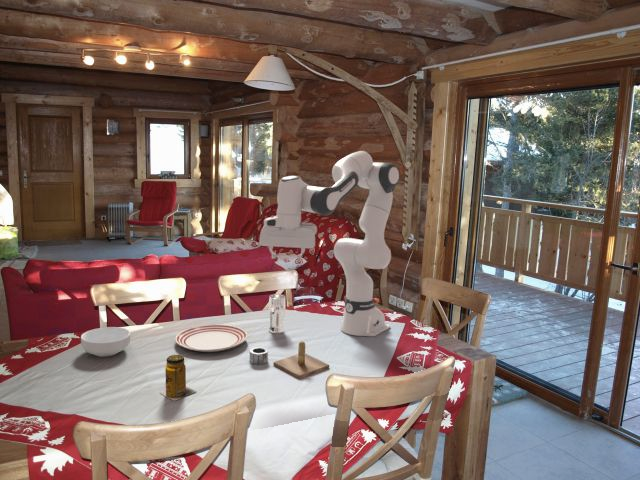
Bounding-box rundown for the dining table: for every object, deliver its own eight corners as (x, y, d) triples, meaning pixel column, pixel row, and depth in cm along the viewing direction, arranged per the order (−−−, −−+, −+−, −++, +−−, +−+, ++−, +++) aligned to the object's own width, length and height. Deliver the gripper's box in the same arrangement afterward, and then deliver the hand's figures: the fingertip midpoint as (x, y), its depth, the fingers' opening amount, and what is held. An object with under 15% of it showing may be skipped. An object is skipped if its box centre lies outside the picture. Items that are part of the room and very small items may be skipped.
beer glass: (282, 334, 221) (283, 299, 218) (265, 332, 222) (266, 297, 219) (286, 329, 228) (287, 294, 225) (270, 327, 229) (271, 293, 226)
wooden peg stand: (303, 355, 201) (303, 331, 199) (329, 368, 191) (330, 343, 189) (273, 365, 192) (274, 340, 190) (299, 378, 182) (300, 352, 180)
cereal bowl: (139, 353, 197) (138, 335, 196) (94, 366, 185) (93, 346, 184) (117, 340, 208) (116, 323, 207) (73, 351, 196) (72, 333, 195)
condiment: (160, 393, 168) (159, 357, 166) (182, 384, 174) (182, 349, 172) (173, 401, 163) (173, 364, 161) (196, 392, 170) (196, 356, 167)
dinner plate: (160, 349, 202) (160, 340, 202) (202, 326, 227) (202, 319, 227) (223, 363, 192) (223, 354, 192) (259, 338, 217) (260, 330, 217)
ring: (260, 356, 199) (260, 345, 198) (271, 361, 194) (271, 351, 194) (246, 360, 195) (246, 350, 194) (256, 366, 190) (257, 355, 189)
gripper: (317, 221, 198) (315, 258, 200) (261, 218, 197) (259, 255, 199) (317, 224, 191) (315, 262, 194) (259, 220, 191) (258, 259, 193)
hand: (286, 259), depth 196 cm, fingers open, 8 cm apart
